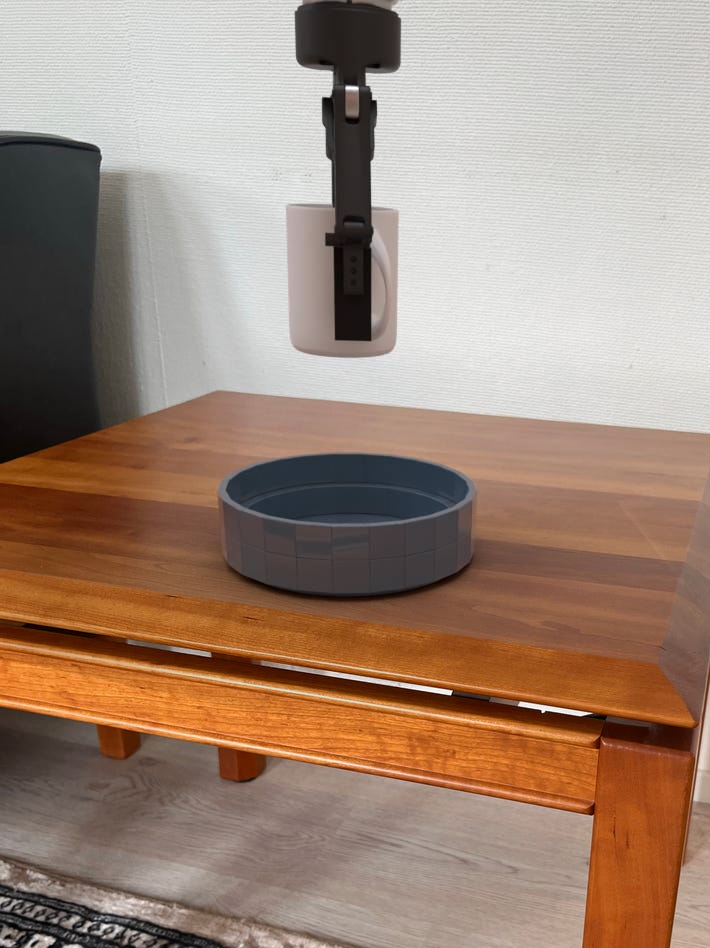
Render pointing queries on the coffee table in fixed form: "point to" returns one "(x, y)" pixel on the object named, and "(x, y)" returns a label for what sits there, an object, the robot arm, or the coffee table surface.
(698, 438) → the coffee table surface
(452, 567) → the bowl
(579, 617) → the coffee table surface
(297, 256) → the mug
